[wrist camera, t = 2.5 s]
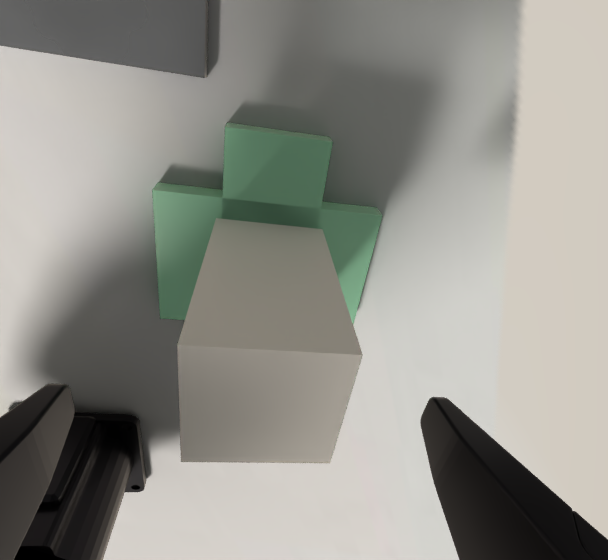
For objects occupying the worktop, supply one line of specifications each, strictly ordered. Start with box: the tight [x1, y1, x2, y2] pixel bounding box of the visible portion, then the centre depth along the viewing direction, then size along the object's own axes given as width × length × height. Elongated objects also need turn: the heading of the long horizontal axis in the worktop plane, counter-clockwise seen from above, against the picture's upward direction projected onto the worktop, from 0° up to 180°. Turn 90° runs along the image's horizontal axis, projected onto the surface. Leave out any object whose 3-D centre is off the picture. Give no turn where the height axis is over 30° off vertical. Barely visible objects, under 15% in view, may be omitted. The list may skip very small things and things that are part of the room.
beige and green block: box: [152, 122, 382, 463], centre depth 12 cm, size 10×8×8 cm
